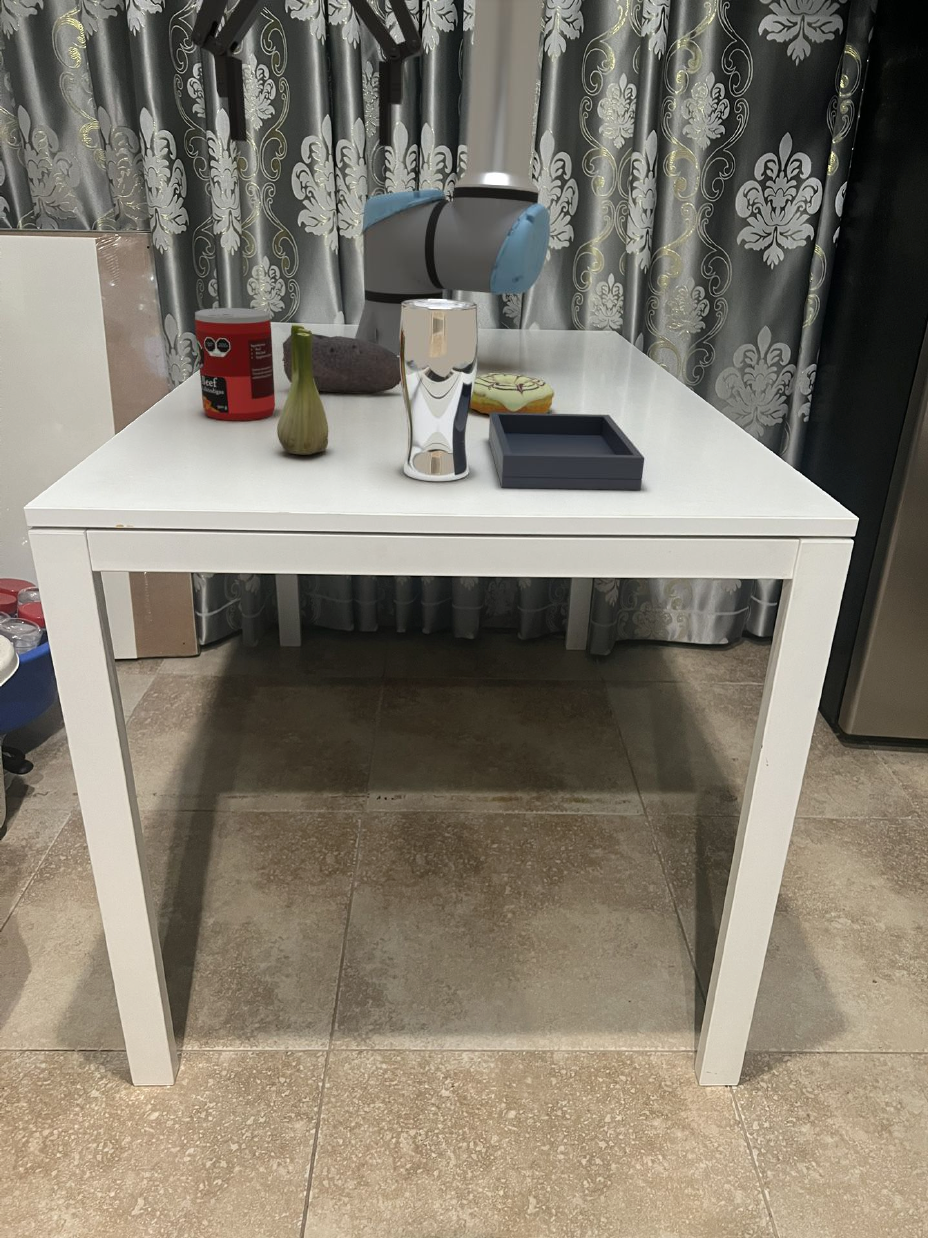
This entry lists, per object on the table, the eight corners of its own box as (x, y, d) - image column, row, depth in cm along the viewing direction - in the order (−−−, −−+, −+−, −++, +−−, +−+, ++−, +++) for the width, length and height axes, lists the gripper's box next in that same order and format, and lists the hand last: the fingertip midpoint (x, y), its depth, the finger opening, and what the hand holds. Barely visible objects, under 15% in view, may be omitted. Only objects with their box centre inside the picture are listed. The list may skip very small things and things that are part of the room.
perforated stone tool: (407, 391, 117) (407, 335, 114) (400, 399, 112) (400, 341, 109) (293, 384, 118) (291, 329, 115) (282, 393, 114) (278, 335, 111)
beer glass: (414, 486, 80) (415, 309, 74) (388, 465, 86) (387, 298, 80) (485, 479, 83) (493, 307, 76) (455, 459, 89) (460, 297, 82)
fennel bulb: (318, 462, 86) (313, 331, 81) (269, 458, 87) (261, 328, 82) (336, 447, 91) (333, 323, 86) (289, 443, 92) (283, 320, 87)
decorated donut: (522, 424, 103) (524, 391, 101) (445, 410, 108) (446, 377, 106) (567, 409, 110) (569, 377, 109) (493, 396, 116) (495, 366, 114)
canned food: (198, 408, 105) (189, 308, 100) (267, 404, 108) (261, 307, 103) (209, 423, 98) (200, 317, 94) (282, 418, 101) (277, 316, 97)
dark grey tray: (488, 440, 96) (489, 411, 94) (606, 442, 96) (609, 414, 95) (501, 487, 81) (503, 454, 80) (640, 490, 82) (644, 457, 80)
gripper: (134, -170, 71) (163, 136, 80) (450, -162, 70) (443, 145, 79) (167, -139, 78) (191, 140, 87) (456, -132, 77) (449, 149, 86)
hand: (311, 143), depth 83 cm, fingers open, 13 cm apart
